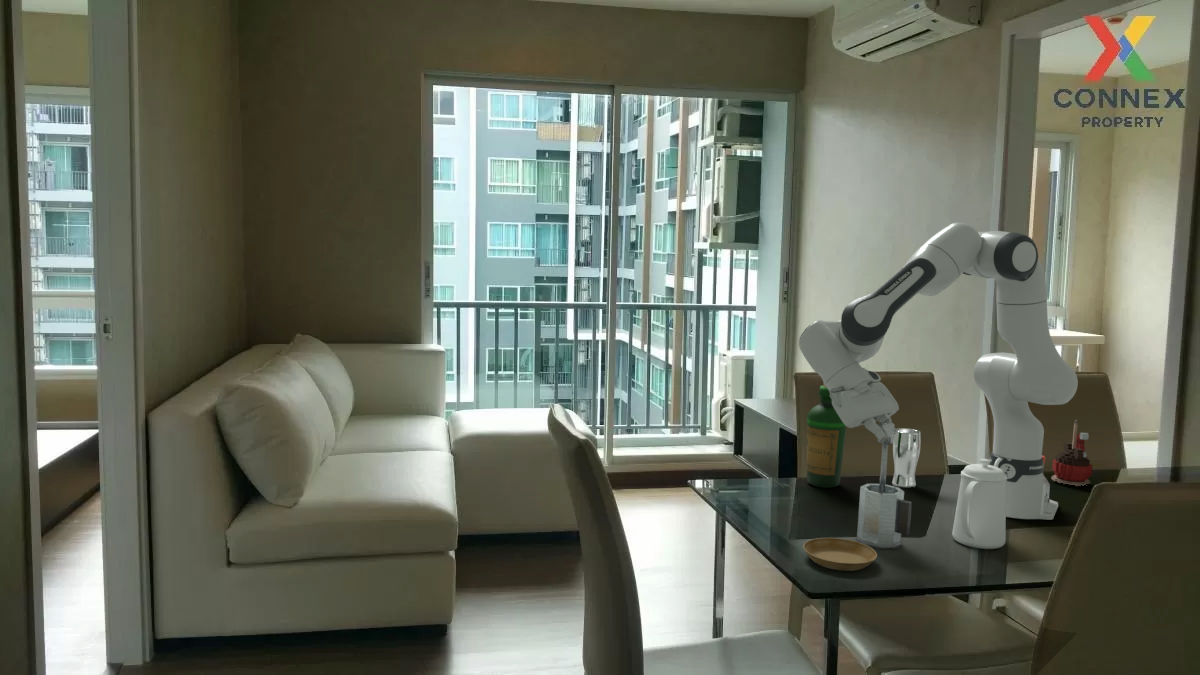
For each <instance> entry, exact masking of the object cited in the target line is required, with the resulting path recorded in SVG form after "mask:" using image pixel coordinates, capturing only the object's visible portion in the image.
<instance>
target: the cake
mask: <svg viewBox="0 0 1200 675" xmlns="http://www.w3.org/2000/svg"><path fill="white" fill-rule="evenodd" d="M1078 425H1079V420H1077V419H1074V424H1073V433H1072V442H1064V444H1063V451H1061V452H1059V453H1058V454H1056V456H1055V459H1053V460H1052V468H1051V470H1052V471H1053V473H1054V474H1053V475H1051V477H1050V478H1051V480H1052V481H1053V482H1057V483H1059V484H1061V483H1063V484H1062V485H1065V484H1069V485H1075V486H1074V487H1079V486H1080V487H1082V486H1084V485H1086V484H1089V483H1090V484H1091V480H1089V478H1090V477H1092V475H1093V465H1092V464H1091V463H1090V459H1089V458H1088V456H1087V452H1086V451H1085V449H1086V447H1085V441H1088V440H1089V436H1090V435H1089V433H1088V432H1079V433H1078V427H1079V426H1078ZM1069 485H1068V486H1069ZM1081 485H1082V486H1081ZM1086 486H1087V485H1086Z"/></svg>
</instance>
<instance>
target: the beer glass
mask: <svg viewBox="0 0 1200 675" xmlns="http://www.w3.org/2000/svg"><path fill="white" fill-rule="evenodd" d="M895 429H896V430H897V433H896V434H895V435H894V440H893V443H892V455H893V462H894V463H893V464H894V465H893V466H894V473H893V478H892V482H891V483H892V486H895V487H899V488H904V489H905V488H906V489H910V488H911V487H913V488H915V487H916V485H917V483H916V469H917V464H918V460H919V457H920V453H921V431H920V430H917V429H915V428H913V429H912V428H905V427H904V428H903V427H902V428H895ZM911 489H912V488H911Z"/></svg>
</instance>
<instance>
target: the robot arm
mask: <svg viewBox="0 0 1200 675" xmlns="http://www.w3.org/2000/svg"><path fill="white" fill-rule="evenodd" d="M962 275H966V276H975V277H979V278H984V279H994V280H995V283H996V289H995V290H996V292H995V294H996V295H995V296H996V299H995V300H996V320H997V321H996V327H997V328H996V329H997V332H998V335H999V336H1000V337H1001V339H1002V340H1004V341H1005V342H1007V344H1009V346H1010V347H1011V348H1012V351H1013V352H1014V353H1010V352H993V353H992V352H991V353H986V354H983V355H981V356H980V357H979V358H978V360H977V361H976V363H975V365H974V367H973V380H974V383H975V384H976V386H977V387H978V388H979V390H981V392H983V393H982V394H984V396H985V397H986V399H987V402H988V404H989V406H990V409H991V413H992V417H993V440H992V442H993V444H992V451H991V452H990V456H989V460H990V463H989V465H991V466H994V464H995V461H996V460H997V459H998V458H1002V459H1003V460H1002V461H1000V463H999V465H998V468H1000V469H1001V470H1003V472H1004V474H1005V476H1006V477H1007V481H1006V518H1012V519H1020V520H1045V521H1046V520H1049V521H1050V520H1054V517H1055V515H1056V513H1057V511H1058V508H1059V502H1058V501H1055V500H1052V499H1050V488H1051V484H1050V483H1049V481H1048V479H1047V478H1046V477H1045V475H1044V471H1045V470H1044V467H1045V462H1046V456H1045V455H1043V446H1044V438H1045V437H1044V436H1045V434H1044V433H1045V428H1044V426H1043V424H1042V422H1041V421H1040V420H1039V419H1038V418H1037V417H1036V416H1034V414H1033V412H1032V411H1031V409H1030V407H1029V402H1030V403H1034V404H1036V405H1037V404H1039V405H1043V406H1045V405H1046V406H1050V405H1051V406H1055V405H1057V406H1059V405H1065V404H1067V403H1068V402H1070V400H1073V398H1074V396H1075V395H1076V392H1077V390H1078V385H1079V382H1078V376H1077V372H1076V371H1075V369H1074V368H1073V367H1072V366H1071V365H1069V364H1068V363H1067V362H1066V361H1065V360H1064V359H1063V358H1062V356H1061V354H1060V353H1059V352H1058V350H1057V348H1056V346H1055V344H1054V341H1053V340H1052V336H1051V334H1050V333H1051V332H1050V328H1049V319H1048V297H1047V296H1048V294H1047V284H1046V279H1045V278H1046V277H1045V272H1044V268H1043V265H1042V262H1041V261H1040V260H1039V250H1038V247H1037V245H1036V243H1035V241H1034V240H1033V239H1032V238H1031V237H1030V236H1028V235H1026V234H1024V233H1020V232H1015V231H1014V232H1009V231H1001V230H990V231H978V230H976V229H975V228H974V227H973V226H971V225H970V224H968V223H965V222H959V221H957V222H953V223H950V224H949V225H947V226H946V227H944V228H942V229H941V230H939V231H938V232H936V233H935V234H933V235H932V236H931V237H930V238H928V239H927V240H926V241H925V242H924V243H923V244H922V245H920V247H918V248H917V249H916V251H915V252H913V254H912V255H911V256H910V257H909V258H908V259H907V261H906V263H905V264H904V265H903V267H902V268H901V269H900V270H898V271H897V272H896V273H895V274H893V276H891V277H890V278H889V279H888V280H887V281H885V283H883V284H881V286H879V288H876V290H875V291H872V292H871V293H869V294H867V295H864V296H861V297H859V298H856V299H854V300H852V301H850V302H849V303H847V305H846V306H845V308H844V309H843V310H842V313H841V319H840V320H833V321H830V320H829V321H827V320H826V321H825V320H821V319H818V320H815V321H814V322H811V323H810V324H809V325H808V326H807V327H806V328H805V329H804V330H803V332H802V333H801V335H800V337H799V339H798V340H799V341H798V346H799V350H800V351H801V353H802V356H804V359H805V360H806V361H807V363H808V364H809V366H810V368H811V369H812V371H814V372H815V373H816V374H817V375H819V376H820V378H821V380H822V382H824V384H825V386H826V387H827V389H828V390H829V391H830V398H831V399H832V405H833V407H834V409H835V411H836V412H837V414H838V416H839V417H840V419H841V420H842V422H843V423H844V424H845V425H846V426H847V427H846V428H849V429H852V428H857V427H860V426H864V427H865V429H866V430H868V431H869V432H871V433H872V434H873V435H874V436H875V437H876V438H877V440H878V439H879V440H881V439H884V438H885V437H886V436H887V433H886V432H885V430H884V429H883V428H882V429H881V428H880V427H879V424H877V423H876V422H877V421H878V422H879V423H880V422H888V423H893V420H892V418H891V417H892V416H893V415H895V414H896V413H897V412H898V411H899V410H900V407H899V403H898V402H897V400H896V399H895V398H894V396H893V395H892V393H891V391H890V390H889V389H888V388H887V386H886V385H885V384H884V383H883V382H881V380H882V378H881V376H880V375H879V374H878V373H877V372H875V371H872V370H868V369H867V368H865V367H862V366H861V364H860V363H862V362H864V361H867V360H869V359H871V358H873V357H875V355H877V353H878V352H879V351H880V349H881V346H882V344H883V342H884V339H885V336H886V334H887V332H888V330H889V328H890V326H891V323H892V319H893V317H894V315H895V314H896V313H897V312H898V311H899V310H900V309H902V308H903V306H905V305H906V304H907V303H908V302H910V300H912V299H913V298H914V297H915V296H916V295H918V294H920V295H923V296H927V297H934V296H937V295H938V294H940V293H942V292H944V291H945V290H946V289H948V288H949V287H951V286H952V285H953V284H954V283H955V282H956V281H957V280H958V279H959V278H960V277H961V276H962ZM824 384H823V385H824ZM896 429H897V428H896V427H894V435H895V434H896V433H897V430H896Z"/></svg>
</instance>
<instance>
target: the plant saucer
mask: <svg viewBox="0 0 1200 675" xmlns="http://www.w3.org/2000/svg"><path fill="white" fill-rule="evenodd" d="M802 549H803V550H804V552H805V554H807V556H808V557H809V558H810V559H811V560H812V561H813V562H814V563H815V564H816V563H817V565H819V566H820V567H824V568H827V569H830V570H835V571H842V572H843V571H844V572H845V571H847V572H853V571H859V570H863V569H865V568H866V567H868V566H869V565H871V564H872V563H874V561H875V560H876V559H877V557H878V553H877V552H876V550H875V549H874V548H871V547H869V546H867V545H865V544H862V543H859V542H857V540H856V541H855V540H850V539H845V538H838V537H818V538H813V539H809V540H806V541H805V542H804V543H803V545H802Z"/></svg>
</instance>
